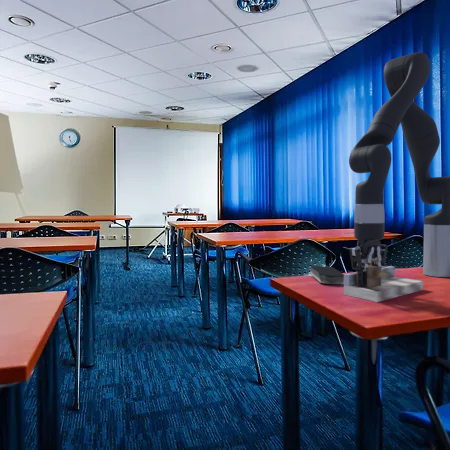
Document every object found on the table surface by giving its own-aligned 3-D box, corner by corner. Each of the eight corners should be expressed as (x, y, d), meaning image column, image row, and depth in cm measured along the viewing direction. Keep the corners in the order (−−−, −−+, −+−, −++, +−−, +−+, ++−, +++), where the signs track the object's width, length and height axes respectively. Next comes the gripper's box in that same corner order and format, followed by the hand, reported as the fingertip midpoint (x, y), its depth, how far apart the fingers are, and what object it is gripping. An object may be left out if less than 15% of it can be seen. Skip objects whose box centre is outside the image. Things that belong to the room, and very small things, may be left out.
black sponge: (309, 276, 127) (309, 265, 127) (333, 275, 127) (333, 265, 127) (319, 286, 111) (320, 274, 111) (348, 286, 111) (348, 274, 111)
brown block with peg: (367, 282, 102) (368, 265, 102) (393, 287, 95) (394, 268, 95) (356, 284, 99) (357, 266, 99) (382, 289, 93) (383, 270, 92)
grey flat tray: (389, 283, 112) (389, 266, 111) (422, 289, 103) (423, 270, 103) (343, 294, 99) (343, 274, 99) (377, 302, 91) (377, 280, 91)
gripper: (372, 219, 105) (372, 278, 106) (340, 221, 97) (340, 285, 98) (397, 220, 99) (396, 283, 100) (365, 222, 91) (365, 290, 91)
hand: (368, 283), depth 99 cm, fingers closed on brown block with peg, 5 cm apart
